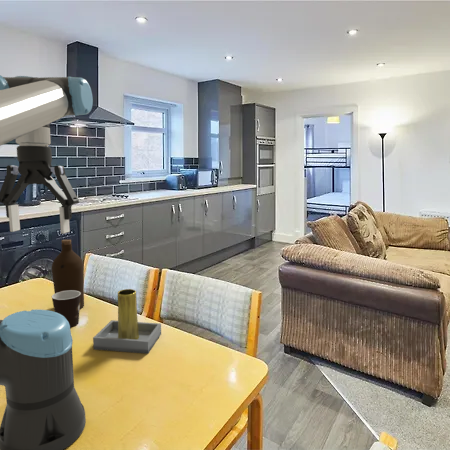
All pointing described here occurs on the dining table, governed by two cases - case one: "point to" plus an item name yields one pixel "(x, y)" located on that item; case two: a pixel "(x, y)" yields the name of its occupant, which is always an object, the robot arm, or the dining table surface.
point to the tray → (111, 342)
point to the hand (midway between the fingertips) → (40, 231)
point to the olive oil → (68, 271)
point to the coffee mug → (68, 305)
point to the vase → (127, 314)
